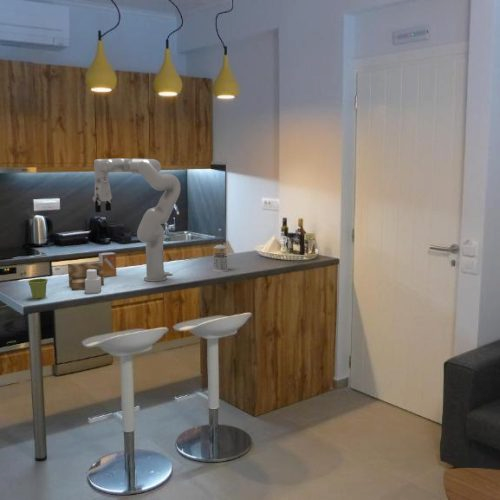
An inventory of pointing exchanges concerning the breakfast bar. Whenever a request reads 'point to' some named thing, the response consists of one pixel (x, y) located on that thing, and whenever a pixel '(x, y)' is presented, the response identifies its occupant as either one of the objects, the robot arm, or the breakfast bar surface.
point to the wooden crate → (82, 274)
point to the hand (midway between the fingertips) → (103, 211)
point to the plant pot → (38, 288)
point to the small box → (108, 263)
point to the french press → (220, 259)
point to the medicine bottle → (92, 281)
